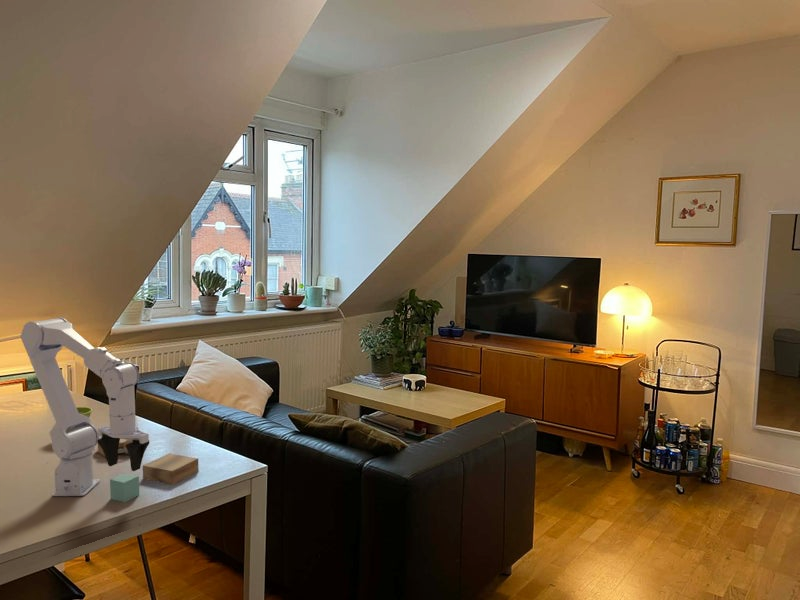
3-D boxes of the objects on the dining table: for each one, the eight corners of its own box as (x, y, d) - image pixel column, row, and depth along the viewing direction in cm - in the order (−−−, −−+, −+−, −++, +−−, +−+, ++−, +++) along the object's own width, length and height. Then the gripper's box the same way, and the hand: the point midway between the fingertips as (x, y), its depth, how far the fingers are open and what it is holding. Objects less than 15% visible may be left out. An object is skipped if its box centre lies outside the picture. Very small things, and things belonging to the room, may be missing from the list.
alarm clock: (135, 432, 194) (141, 437, 181) (136, 448, 193) (142, 454, 180) (96, 437, 188) (99, 443, 175) (96, 454, 188) (100, 461, 175)
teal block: (139, 495, 154) (138, 476, 153) (124, 502, 150) (124, 482, 149) (125, 492, 156) (125, 473, 155) (110, 499, 152) (110, 479, 151)
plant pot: (99, 436, 198) (98, 409, 197) (71, 444, 190) (70, 416, 189) (81, 431, 203) (80, 405, 202) (53, 438, 195) (52, 412, 194)
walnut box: (198, 472, 170) (198, 458, 170) (172, 485, 161) (172, 471, 160) (169, 467, 174) (169, 453, 173) (143, 479, 164) (142, 465, 164)
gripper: (157, 412, 151) (159, 466, 153) (113, 405, 157) (115, 457, 158) (135, 420, 145) (136, 476, 146) (90, 413, 151) (92, 466, 152)
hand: (124, 467), depth 152 cm, fingers open, 7 cm apart
